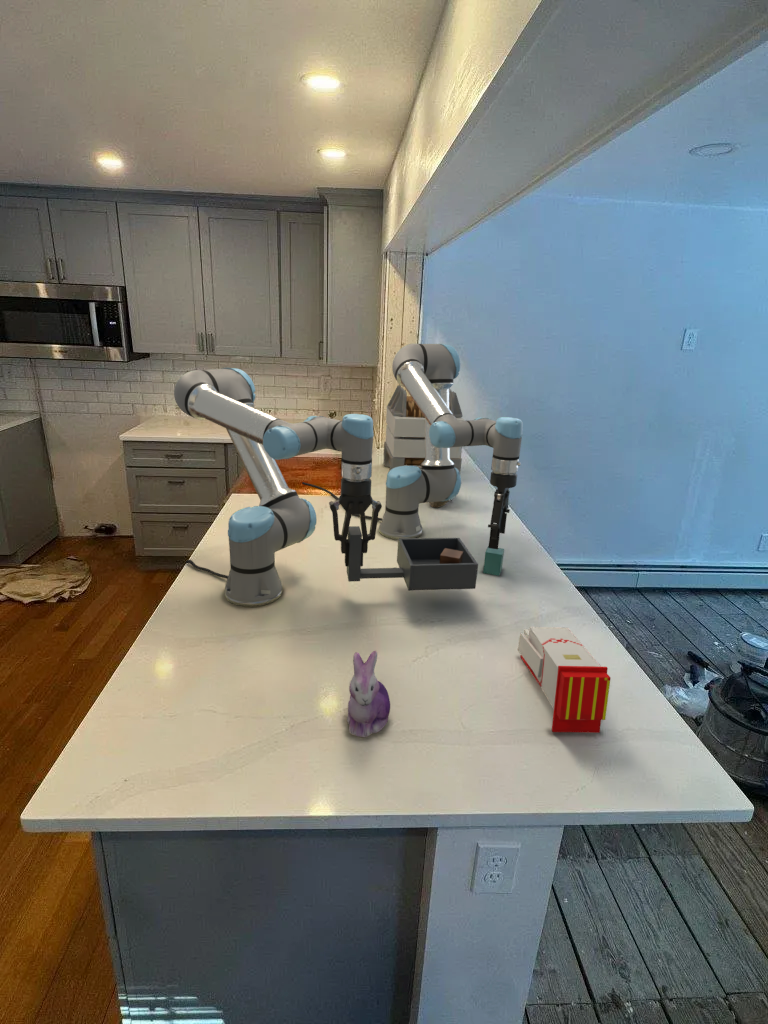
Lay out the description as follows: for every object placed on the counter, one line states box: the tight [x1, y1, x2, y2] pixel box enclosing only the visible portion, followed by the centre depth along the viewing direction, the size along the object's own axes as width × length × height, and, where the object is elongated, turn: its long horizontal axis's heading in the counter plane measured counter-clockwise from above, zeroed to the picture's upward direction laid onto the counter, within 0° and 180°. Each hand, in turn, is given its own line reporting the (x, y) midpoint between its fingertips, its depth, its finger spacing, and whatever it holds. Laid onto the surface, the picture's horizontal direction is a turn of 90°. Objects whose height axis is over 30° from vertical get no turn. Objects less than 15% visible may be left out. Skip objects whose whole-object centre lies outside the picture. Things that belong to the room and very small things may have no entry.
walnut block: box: [439, 548, 463, 564], centre depth 149 cm, size 5×5×7 cm
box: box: [346, 525, 479, 592], centre depth 150 cm, size 32×18×13 cm, turn 99°
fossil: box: [428, 499, 453, 509], centre depth 235 cm, size 22×10×15 cm
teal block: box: [482, 545, 505, 577], centre depth 173 cm, size 5×5×7 cm
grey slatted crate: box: [383, 384, 466, 475], centre depth 268 cm, size 34×33×41 cm
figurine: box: [346, 650, 391, 738], centre depth 106 cm, size 9×10×15 cm
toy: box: [517, 626, 611, 734], centre depth 119 cm, size 12×13×30 cm
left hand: (353, 563), depth 148 cm, fingers closed on box, 3 cm apart
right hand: (496, 540), depth 171 cm, fingers open, 13 cm apart
